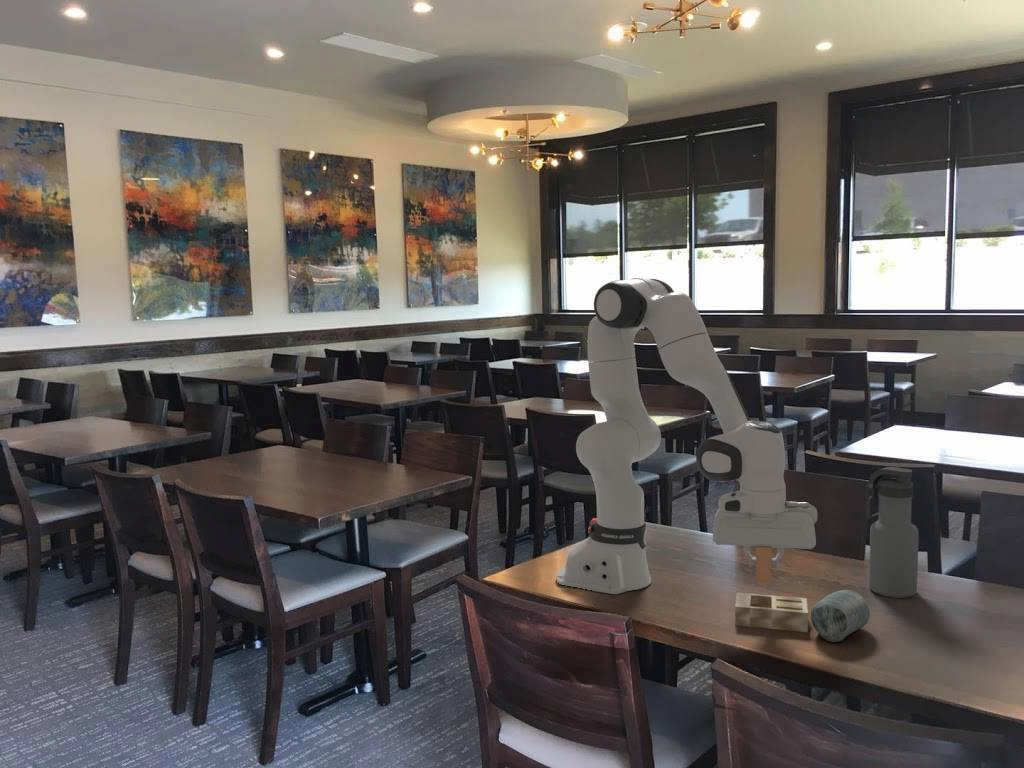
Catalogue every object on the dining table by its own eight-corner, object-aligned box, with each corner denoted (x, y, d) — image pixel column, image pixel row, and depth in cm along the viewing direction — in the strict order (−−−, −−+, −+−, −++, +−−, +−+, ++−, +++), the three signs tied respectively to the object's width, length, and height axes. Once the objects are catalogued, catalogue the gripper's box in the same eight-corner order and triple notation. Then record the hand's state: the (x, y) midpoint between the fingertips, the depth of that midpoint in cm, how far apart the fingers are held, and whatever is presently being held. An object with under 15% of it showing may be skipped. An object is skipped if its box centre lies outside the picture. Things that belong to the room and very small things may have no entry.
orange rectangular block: (756, 581, 164) (755, 547, 163) (756, 573, 169) (756, 540, 168) (771, 582, 163) (771, 548, 162) (771, 574, 168) (771, 541, 167)
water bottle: (859, 590, 182) (861, 468, 179) (879, 579, 189) (882, 462, 186) (904, 602, 175) (908, 476, 172) (924, 591, 181) (928, 468, 178)
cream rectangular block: (735, 625, 165) (735, 605, 165) (736, 610, 173) (736, 591, 172) (807, 632, 161) (808, 611, 160) (806, 616, 168) (806, 596, 168)
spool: (848, 638, 150) (834, 584, 154) (805, 646, 157) (793, 594, 161) (888, 637, 158) (874, 585, 162) (846, 644, 165) (833, 595, 169)
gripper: (816, 498, 164) (816, 564, 166) (713, 495, 170) (714, 559, 172) (818, 506, 158) (818, 574, 160) (711, 503, 164) (712, 568, 166)
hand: (763, 566), depth 166 cm, fingers closed on orange rectangular block, 3 cm apart
